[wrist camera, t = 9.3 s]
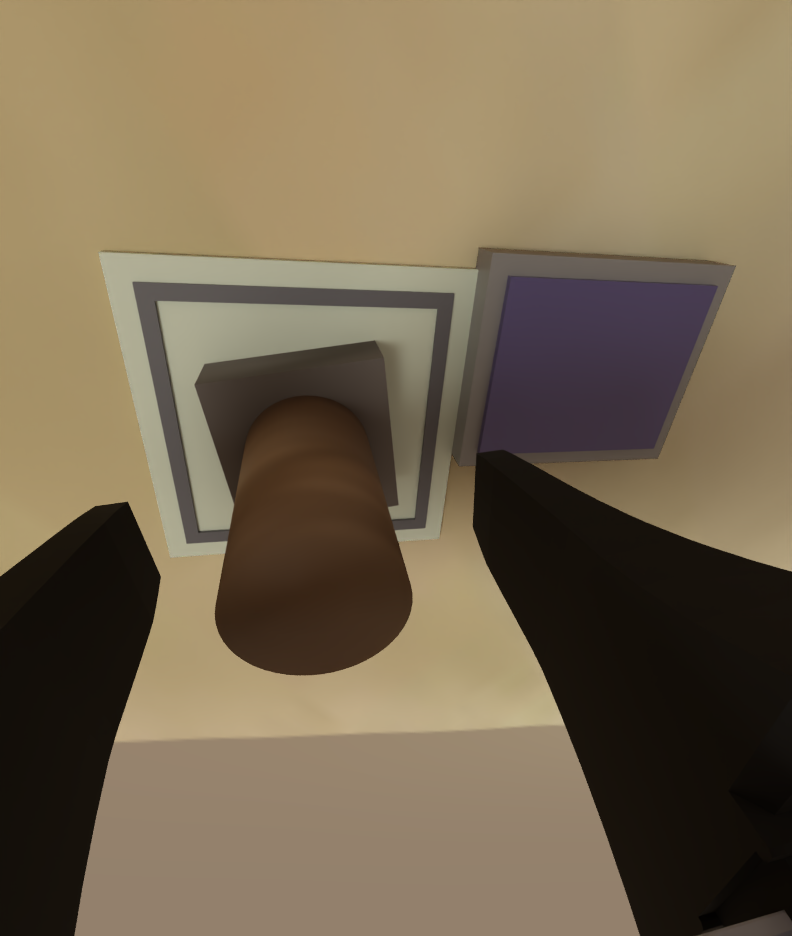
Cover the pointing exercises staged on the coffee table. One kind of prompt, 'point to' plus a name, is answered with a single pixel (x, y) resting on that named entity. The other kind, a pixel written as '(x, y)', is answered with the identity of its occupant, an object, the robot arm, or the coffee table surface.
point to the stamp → (307, 508)
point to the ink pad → (581, 353)
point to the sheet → (280, 331)
